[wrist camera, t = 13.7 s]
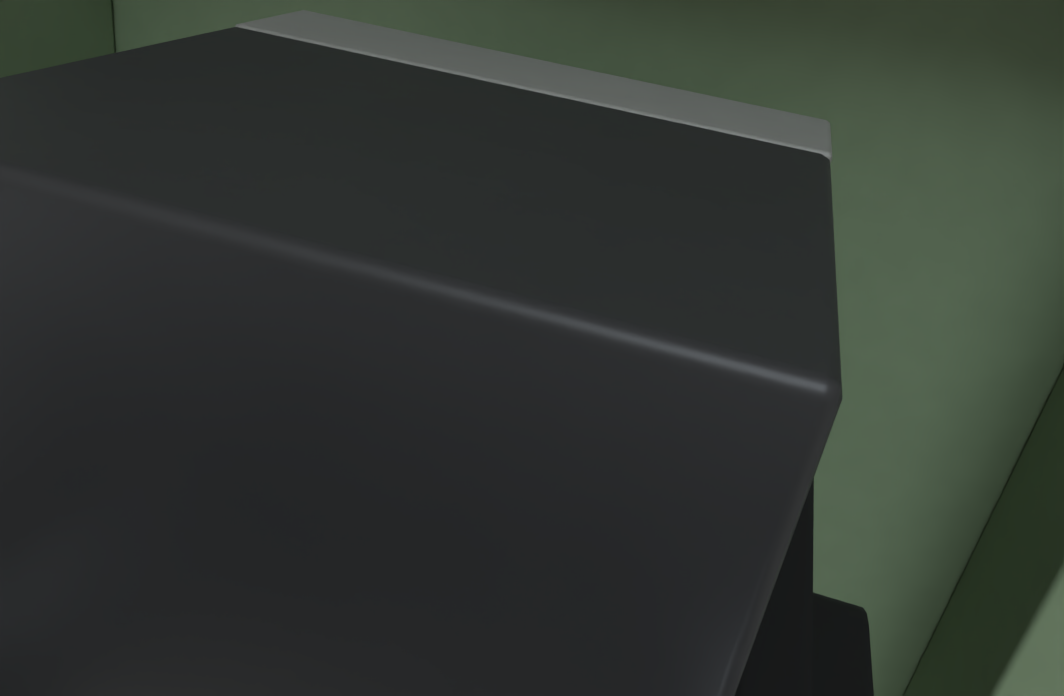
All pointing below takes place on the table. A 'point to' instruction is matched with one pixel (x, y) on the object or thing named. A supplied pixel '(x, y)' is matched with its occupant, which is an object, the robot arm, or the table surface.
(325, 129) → the eraser
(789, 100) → the tray
